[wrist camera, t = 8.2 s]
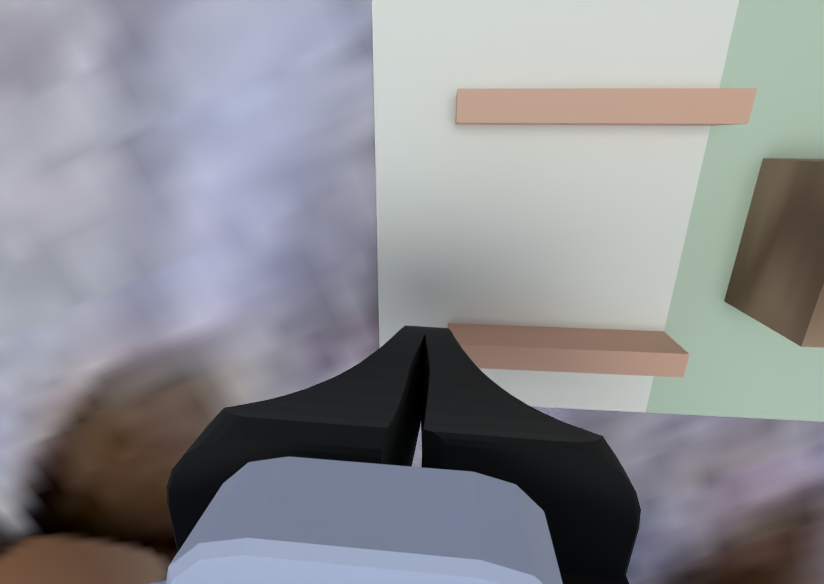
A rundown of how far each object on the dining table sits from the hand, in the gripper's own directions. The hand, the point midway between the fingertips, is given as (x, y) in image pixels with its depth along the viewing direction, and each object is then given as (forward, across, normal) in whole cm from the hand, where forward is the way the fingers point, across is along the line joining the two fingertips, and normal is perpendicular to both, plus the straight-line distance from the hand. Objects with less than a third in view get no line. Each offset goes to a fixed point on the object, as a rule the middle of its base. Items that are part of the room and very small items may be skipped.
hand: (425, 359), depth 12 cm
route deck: (+9, -12, -3) cm, 15 cm away
